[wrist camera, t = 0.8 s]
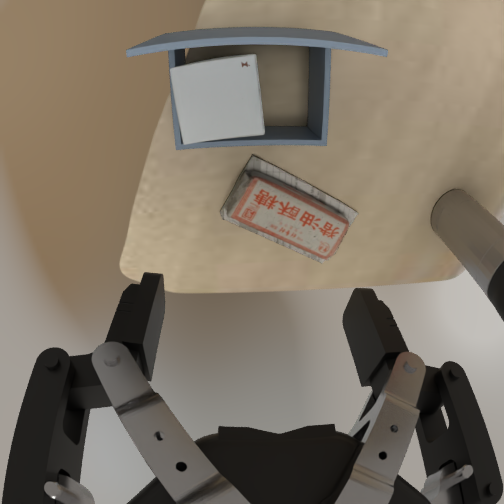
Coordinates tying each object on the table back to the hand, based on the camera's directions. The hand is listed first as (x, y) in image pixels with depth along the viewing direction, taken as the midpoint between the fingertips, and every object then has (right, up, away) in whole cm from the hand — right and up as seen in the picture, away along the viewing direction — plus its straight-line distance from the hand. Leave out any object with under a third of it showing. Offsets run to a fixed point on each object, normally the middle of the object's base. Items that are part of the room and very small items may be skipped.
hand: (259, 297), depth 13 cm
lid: (0, +18, +7) cm, 20 cm away
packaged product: (+5, +8, +32) cm, 33 cm away
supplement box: (-4, +22, +21) cm, 30 cm away
